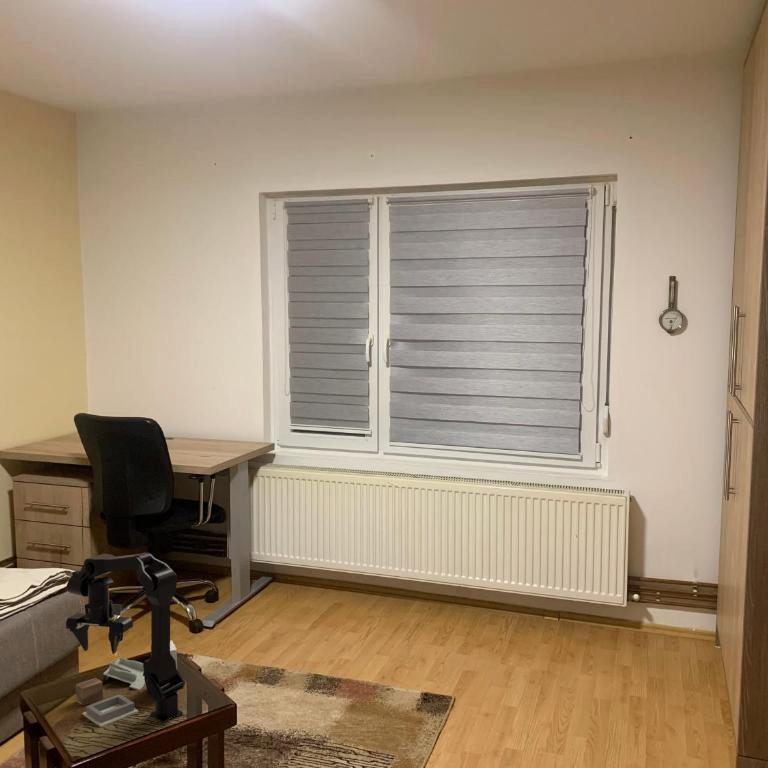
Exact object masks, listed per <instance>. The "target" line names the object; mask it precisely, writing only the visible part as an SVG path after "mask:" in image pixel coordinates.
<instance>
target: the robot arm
mask: <svg viewBox="0 0 768 768" xmlns="http://www.w3.org/2000/svg"><path fill="white" fill-rule="evenodd" d="M83 562H84V563H83V564H82V567H81V568H80V570H75V571H72V572H71V573H72V574H71V577H70V578H69V579H68V581H67V583H66V590H67V592H68V593H69V594H71V595H76V596H80V597H84V598H85V597H87V604H84V608H85V609H87V610H88V611H87V612H88V613H83V612H82V613H81V612H77V613H75V614H73V615H71V616H69V617H67V619H66V621H65V628H66V629H69V631H70V632H71V633H72V634H73V635H74V637H75V639H77V640H78V643H79V644H80V646H81V648H82V649H83V651H85V652H87V651H88V650H89V628H90V626H92V627H93V626H94V627H105V628H109V631H110V633H108V636H109V642H110V643H109V644H110V649H111V652H112V654H113V655H115V654H116V653H117V650H118V648H119V647H118V646H119V645H120V642H121V639H122V636H123V635H124V633H125V632H127V631H129V630H130V629H131V628H133V627H134V620H133V618H132V617H128V616H121V614H122V613H121V612H122V608H123V607H122V606H123V605H122V604H118V603H117V604H116V603H113V599H110V589H109V586H111V585H114V584H115V583H114V581H113V579H112V578H110V576H109V575H107V576H102V575H106V574H110V573H112V572H122V571H130V570H134V572H136V576H137V581H138V583H139V584H140V585H141V586H142V587H143V588H144V591H145V596H146V598H147V600H148V601H149V602H150V607H151V608H150V610H151V612H150V613H151V616H150V618H151V622H150V623H151V633H150V634H151V636H150V641H151V643H150V657H149V658H148V659H146V660H144V661H143V662H142V663H143V668H144V673H143V676H144V680H145V684H144V685H145V687H146V691H147V694H148V697H149V698H151V700H152V701H153V700H154V709H155V710H154V711H151V712H150V713H149V714H150V716H152V717H153V718H155V719H157V720H158V721H160V722H161V721H165V720H167V719H169V718H171V717H174V716H177V715H179V714H182V713H183V714H184V711H182V710H180V709H179V699H178V698H179V694H178V692H177V691H180V690H183V689H185V685H186V682H185V679H184V678H183V677H182V675H181V674H180V672H179V670H178V667H177V668H176V661H175V659H174V658H173V656H172V655H171V653H170V641H171V602H172V601H173V600H172V599H174V596H175V594H176V592H177V587H178V586H177V585H178V576H177V574H176V573H175V571H174V570H173V569H172V568H171V567H170V566H169V565H168V564H167V563H166V562H165V561H164V562H163V561H161V560H159V559H157V558H155V557H154V556H153V554H152V553H150V552H142V553H137V554H129V555H127V554H126V555H120V556H115V555H113V554H110V553H102V554H99V555H95V556H92V557H88V558H85V559H84V561H83ZM145 568H148V569H149V570H151V571H154V572H152V573H147V572H146V571H145ZM100 576H101V577H100ZM115 616H119V617H117V618H115ZM113 618H115V619H113ZM169 683H170V684H169ZM167 684H168V685H167ZM165 685H166V686H165ZM163 686H164V687H163ZM161 687H162V688H161ZM183 714H182V715H183ZM179 716H180V715H179ZM177 717H178V716H177ZM167 721H168V720H167ZM165 722H166V721H165Z"/></svg>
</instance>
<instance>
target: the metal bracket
mask: <svg viewBox="0 0 768 768" xmlns="http://www.w3.org/2000/svg"><path fill="white" fill-rule="evenodd" d="M143 663H144V662H140V661H137V660H129V659H127V658H126V657H124V656H121V657H120V658H118V659H117V660H116V661H115V662H114V663H113V662H109V664H108V666H109V667H108V668H107V670H105V671H104V672H103V675H105V676H106V680H108V679H109V678H112V679H115V680H119V681H122V682H124V683H127V684H130V685H129V688H131V689H132V690H136V691H140V690H141V689H142V688H143V687H144V686H145V685H146V684H145V680H144V676H143V673H144V668H143Z"/></svg>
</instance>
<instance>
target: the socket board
mask: <svg viewBox="0 0 768 768" xmlns="http://www.w3.org/2000/svg"><path fill="white" fill-rule="evenodd" d="M85 706H86V708H85V709H86V711H84V712H82V715H83V717H85V718H87V719H89V720H90V721H91V722H92V723H94V724H96V726H99V727H100V728H102V727H105V726H107V725H109V724H113V723H115V722H118V721H120V720H122V719H125V718H128V717H130V716H133V715H135V714H138V713H139V710H138V709H137V708H135V702H134V701H132V700H130V699H128V698H126V697H125V696H123V695H122V694H117V695H114V696H111V697H108V698H105V699H103V700H102V699H101V700H99V701H96V702H93V703H90V704H88V705H85Z"/></svg>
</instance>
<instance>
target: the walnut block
mask: <svg viewBox="0 0 768 768" xmlns="http://www.w3.org/2000/svg"><path fill="white" fill-rule="evenodd" d="M103 686H104V685H103V680H100V679H98V678H97V677H94V678H92V679H87V680H85V681H82V682H79V683H76V684H75V701H76V700H77V701H78V702H80V703H81V704H82V705H84V706H88V705H90V704H93V703H96V702H99V701H101V700H102V699H103V698H104V697H103V696H104V695H103V693H104V691H103V689H104V688H103ZM103 700H104V699H103ZM78 702H77V703H78ZM81 704H80V705H81ZM82 705H81V706H82Z"/></svg>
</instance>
